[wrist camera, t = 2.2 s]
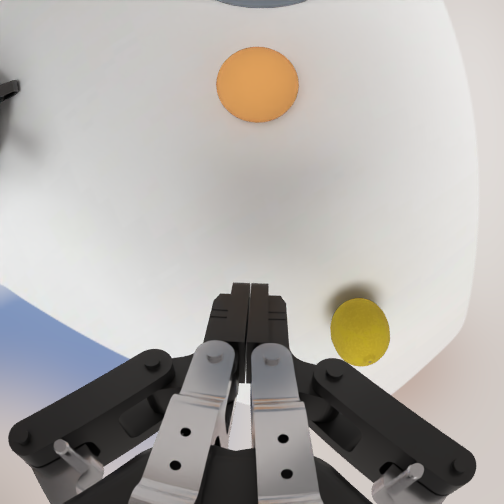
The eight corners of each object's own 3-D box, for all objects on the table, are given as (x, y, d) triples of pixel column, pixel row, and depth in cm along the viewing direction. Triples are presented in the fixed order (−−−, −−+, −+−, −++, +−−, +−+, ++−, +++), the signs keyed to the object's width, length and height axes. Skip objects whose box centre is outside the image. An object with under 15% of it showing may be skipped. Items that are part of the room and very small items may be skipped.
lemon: (379, 280, 28) (407, 335, 21) (371, 322, 30) (391, 377, 23) (326, 284, 28) (342, 343, 21) (323, 326, 31) (334, 385, 24)
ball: (222, 120, 21) (209, 124, 17) (222, 54, 19) (210, 40, 14) (293, 122, 21) (301, 126, 16) (295, 55, 19) (304, 41, 14)
